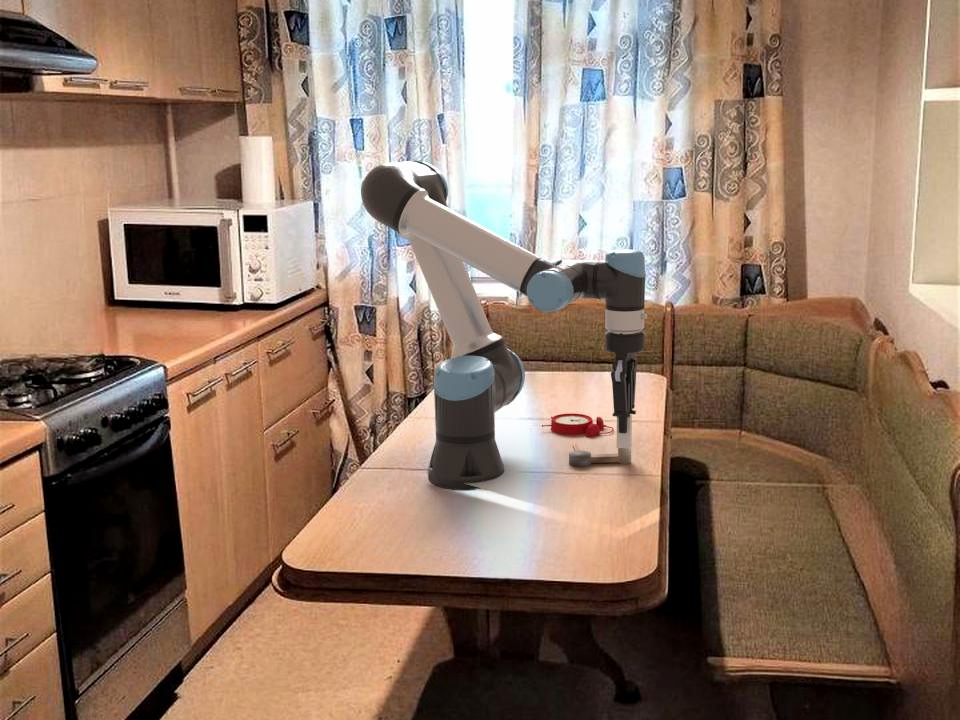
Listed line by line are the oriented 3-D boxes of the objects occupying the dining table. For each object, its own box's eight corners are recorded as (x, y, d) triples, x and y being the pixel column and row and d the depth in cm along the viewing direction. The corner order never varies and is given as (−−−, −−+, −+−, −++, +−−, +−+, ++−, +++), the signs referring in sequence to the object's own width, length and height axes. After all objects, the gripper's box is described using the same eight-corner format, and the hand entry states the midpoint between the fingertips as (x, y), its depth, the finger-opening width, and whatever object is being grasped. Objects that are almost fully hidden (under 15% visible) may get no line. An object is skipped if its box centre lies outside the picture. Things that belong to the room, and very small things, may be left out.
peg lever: (570, 467, 203) (570, 433, 201) (564, 451, 213) (564, 418, 212) (633, 465, 203) (633, 431, 202) (623, 449, 213) (624, 417, 212)
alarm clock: (551, 412, 235) (613, 402, 230) (557, 438, 236) (619, 429, 230) (537, 424, 226) (602, 414, 220) (544, 451, 227) (608, 442, 221)
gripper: (636, 337, 190) (635, 458, 195) (651, 325, 202) (649, 439, 207) (597, 335, 193) (597, 455, 198) (613, 323, 205) (613, 436, 210)
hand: (624, 447), depth 203 cm, fingers closed
